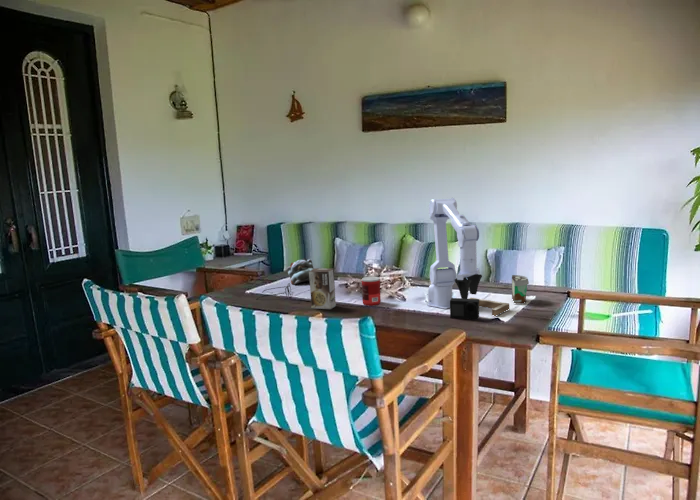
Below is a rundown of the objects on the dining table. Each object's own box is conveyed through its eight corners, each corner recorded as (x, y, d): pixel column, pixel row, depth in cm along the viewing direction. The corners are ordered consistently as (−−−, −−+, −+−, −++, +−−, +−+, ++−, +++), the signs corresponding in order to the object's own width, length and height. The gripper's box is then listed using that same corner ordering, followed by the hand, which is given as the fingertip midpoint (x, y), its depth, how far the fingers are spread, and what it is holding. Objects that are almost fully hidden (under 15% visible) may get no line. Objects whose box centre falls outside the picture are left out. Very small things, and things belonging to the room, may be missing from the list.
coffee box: (336, 305, 225) (334, 268, 222) (330, 309, 219) (329, 271, 216) (316, 304, 228) (314, 267, 225) (310, 308, 222) (308, 270, 219)
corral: (456, 309, 210) (456, 303, 210) (471, 303, 218) (471, 297, 218) (495, 316, 199) (495, 309, 198) (509, 310, 207) (509, 303, 206)
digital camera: (449, 319, 198) (449, 301, 197) (451, 315, 204) (451, 297, 202) (477, 320, 195) (477, 302, 194) (479, 316, 200) (479, 298, 199)
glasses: (287, 299, 241) (285, 288, 240) (255, 304, 241) (253, 293, 240) (291, 292, 255) (289, 282, 254) (261, 296, 255) (259, 286, 255)
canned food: (383, 301, 228) (382, 276, 226) (376, 306, 220) (375, 280, 219) (367, 300, 231) (366, 276, 229) (359, 305, 224) (358, 279, 222)
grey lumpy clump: (288, 285, 266) (281, 260, 270) (294, 289, 278) (287, 265, 282) (316, 276, 265) (308, 251, 269) (321, 280, 277) (313, 256, 281)
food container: (530, 305, 213) (530, 281, 211) (514, 305, 214) (514, 281, 212) (526, 297, 224) (526, 274, 223) (511, 297, 226) (511, 274, 224)
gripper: (470, 262, 181) (470, 301, 183) (487, 256, 193) (487, 293, 194) (451, 261, 185) (452, 299, 187) (469, 255, 197) (469, 291, 199)
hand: (468, 296), depth 191 cm, fingers open, 7 cm apart
